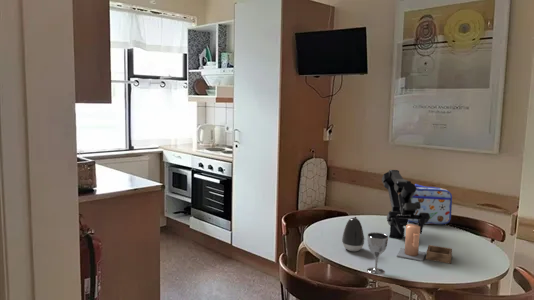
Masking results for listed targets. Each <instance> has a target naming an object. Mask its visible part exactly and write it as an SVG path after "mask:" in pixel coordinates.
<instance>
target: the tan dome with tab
mask: <svg viewBox="0 0 534 300" xmlns="http://www.w3.org/2000/svg"><path fill="white" fill-rule="evenodd" d="M420 235H421V234H420V226H419V225H418V224H416V223H409V224H408V223H407V225H406V226H405V235H404V237H405V239H404V241H405V242H404V249H405V252H404V253H405V254H406V255H409V256H418V252H419V251H420V250H419V249H420V238H421V237H420Z"/></svg>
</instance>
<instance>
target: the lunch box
mask: <svg viewBox="0 0 534 300" xmlns="http://www.w3.org/2000/svg"><path fill="white" fill-rule="evenodd" d="M414 185H415V186H416V191H415V193H414V195H413V197H412V198H411V201H412V203H415V202H420V206H421V208H420V209H417V210H415V213H414V215H419V214H420V212H426V213H429V214H430V218H429V220H428V222H427V223H425V224H424V225H446V224H449V223H450V221H451V219H452V208H453V207H452V206H453V195H452V193H451V192H450V191H449V190H447V189H446V188H441V187H435V186H424V185H420V184H418V183H415V184H414ZM407 223H411V224H418V223H419V222H418V219H408V222H407Z"/></svg>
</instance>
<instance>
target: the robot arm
mask: <svg viewBox="0 0 534 300" xmlns="http://www.w3.org/2000/svg"><path fill="white" fill-rule="evenodd" d="M411 181H412V180H407V179H404V178H403V176H402V175H401V173H400V170H398V169H389V171H387V172H385V173H384V174H383V175H382V177H381V182H382V184H383V187H384V188H385V189H386V190H387V192H388V196H389V202H390V206H391V210H390V211H389V212H388V213H387V216H386V222H387V224H388V226H390V227H389V235H388V238H395V239H398V240H399V239H400V240H402V239H403V238H404V237H405V235H406V225H407V224H408V223H409V222H408V219H418V222H419V223H417V225H419V226H420V235H422V233H423V230H424V229H423V228H424V225H426V224H425V223H427V222H428V220H429V218H430V214H429V213H426V212H420V214H419V215H414V213H415V210H417V209H420V208H421V206H420V202H415V203H412V201H411V198H412V197H413V195H414V193H415V191H416V186H415V184H414V183H412V182H411Z"/></svg>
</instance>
